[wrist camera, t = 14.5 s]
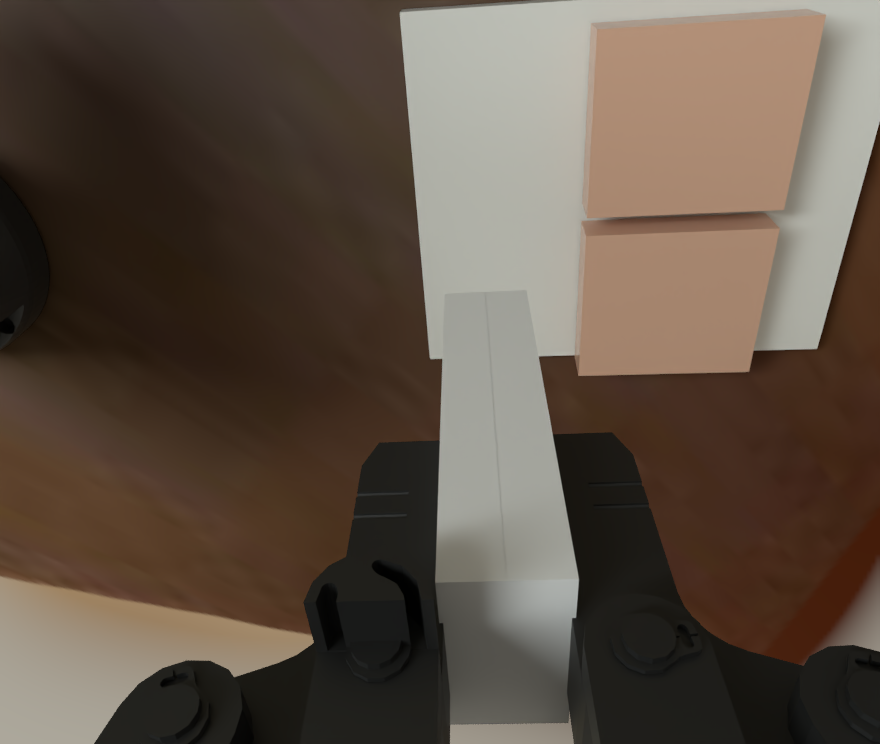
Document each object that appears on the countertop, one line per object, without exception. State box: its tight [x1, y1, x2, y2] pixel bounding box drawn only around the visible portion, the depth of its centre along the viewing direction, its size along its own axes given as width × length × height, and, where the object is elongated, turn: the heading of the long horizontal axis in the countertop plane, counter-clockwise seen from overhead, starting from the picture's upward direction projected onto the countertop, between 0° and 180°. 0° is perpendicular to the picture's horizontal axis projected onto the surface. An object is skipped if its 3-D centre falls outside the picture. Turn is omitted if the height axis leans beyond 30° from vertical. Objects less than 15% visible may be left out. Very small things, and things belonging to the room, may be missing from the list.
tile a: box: [575, 213, 780, 376], centre depth 40 cm, size 2×9×10 cm
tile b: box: [582, 9, 826, 218], centre depth 34 cm, size 2×9×10 cm
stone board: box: [400, 0, 880, 359], centre depth 39 cm, size 24×20×1 cm
